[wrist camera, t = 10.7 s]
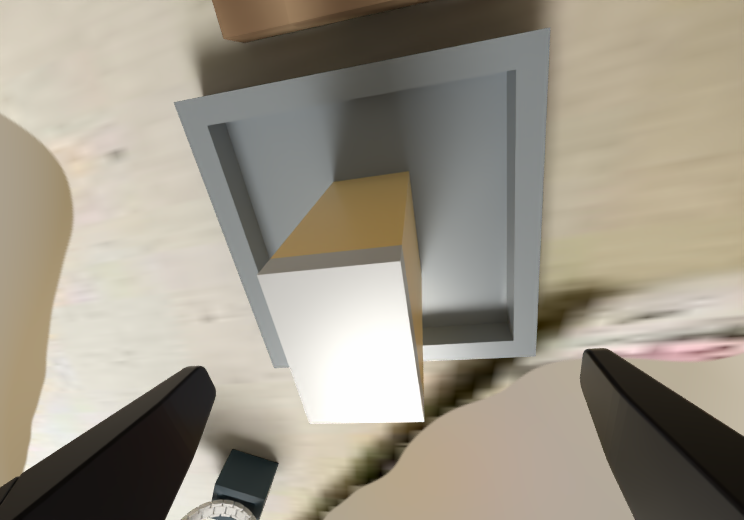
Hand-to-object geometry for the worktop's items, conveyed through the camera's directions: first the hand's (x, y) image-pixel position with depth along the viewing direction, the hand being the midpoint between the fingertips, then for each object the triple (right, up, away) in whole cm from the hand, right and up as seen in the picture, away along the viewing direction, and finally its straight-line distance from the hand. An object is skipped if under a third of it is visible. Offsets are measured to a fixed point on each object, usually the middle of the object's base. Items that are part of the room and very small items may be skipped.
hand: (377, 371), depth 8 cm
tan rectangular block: (0, +4, +11) cm, 12 cm away
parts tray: (0, +5, +12) cm, 13 cm away
